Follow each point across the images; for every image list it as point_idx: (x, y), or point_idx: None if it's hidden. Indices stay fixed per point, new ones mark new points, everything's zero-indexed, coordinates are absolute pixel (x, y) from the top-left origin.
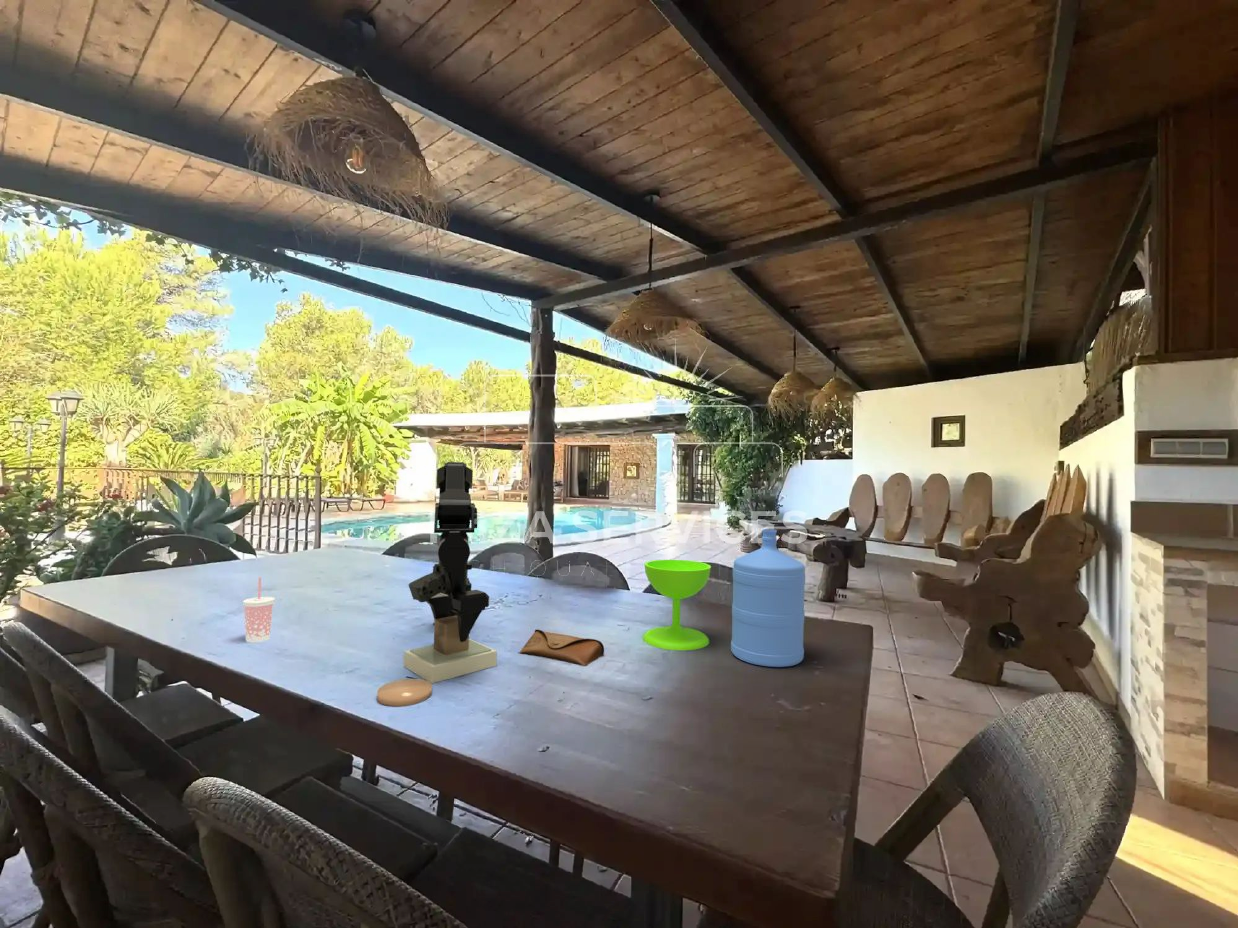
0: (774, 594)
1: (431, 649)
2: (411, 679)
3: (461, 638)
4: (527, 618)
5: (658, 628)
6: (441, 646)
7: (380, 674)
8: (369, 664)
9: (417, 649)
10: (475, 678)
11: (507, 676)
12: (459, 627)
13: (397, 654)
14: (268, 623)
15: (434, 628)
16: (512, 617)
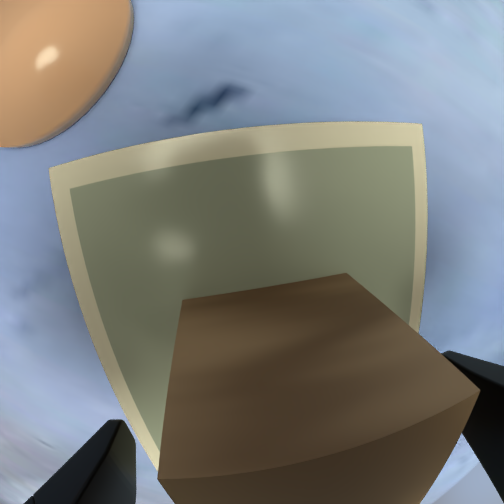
0: None
1: (346, 258)
2: (95, 70)
3: (95, 436)
4: (433, 494)
5: None
6: (250, 310)
7: (330, 19)
8: (448, 50)
9: (394, 185)
10: (66, 339)
11: (58, 414)
12: (59, 494)
13: (489, 173)
14: None
15: (421, 340)
16: (459, 474)
